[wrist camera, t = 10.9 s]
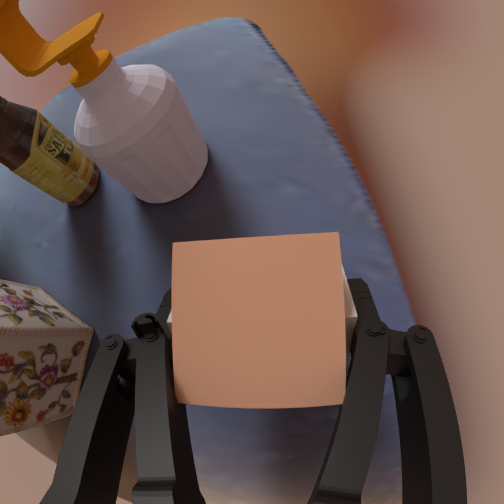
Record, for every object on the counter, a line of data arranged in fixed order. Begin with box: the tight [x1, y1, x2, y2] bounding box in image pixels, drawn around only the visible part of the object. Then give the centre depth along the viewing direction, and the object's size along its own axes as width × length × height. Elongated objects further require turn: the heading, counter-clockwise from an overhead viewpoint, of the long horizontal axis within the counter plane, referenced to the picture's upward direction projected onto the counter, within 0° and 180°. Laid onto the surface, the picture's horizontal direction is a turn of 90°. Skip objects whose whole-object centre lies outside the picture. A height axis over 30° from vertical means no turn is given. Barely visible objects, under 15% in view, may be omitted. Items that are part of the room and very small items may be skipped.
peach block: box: [172, 232, 346, 408], centre depth 14 cm, size 6×6×10 cm
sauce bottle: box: [0, 96, 99, 206], centre depth 18 cm, size 6×6×20 cm
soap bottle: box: [0, 0, 208, 203], centre depth 14 cm, size 9×9×25 cm
